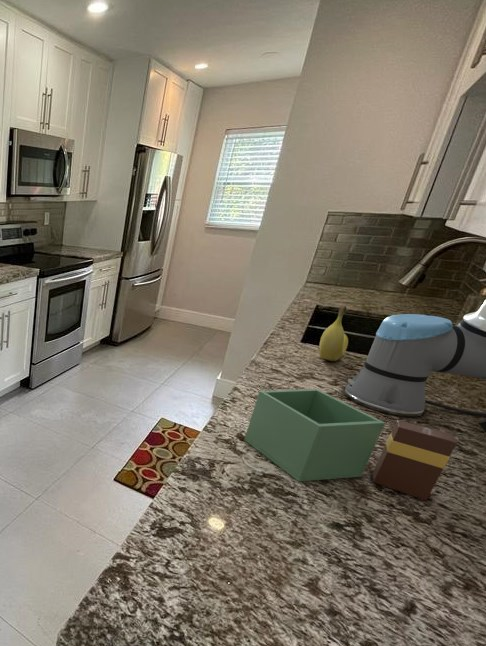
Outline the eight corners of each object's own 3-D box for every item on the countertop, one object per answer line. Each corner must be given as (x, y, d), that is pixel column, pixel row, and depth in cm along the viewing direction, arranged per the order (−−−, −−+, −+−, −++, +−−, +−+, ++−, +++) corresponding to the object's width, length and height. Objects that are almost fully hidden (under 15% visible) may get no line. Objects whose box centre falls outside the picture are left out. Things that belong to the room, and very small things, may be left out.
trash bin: (299, 436, 90) (316, 388, 86) (361, 476, 78) (385, 422, 73) (244, 439, 88) (259, 390, 84) (298, 481, 76) (319, 426, 71)
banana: (326, 350, 144) (346, 294, 137) (347, 355, 140) (369, 298, 133) (309, 364, 131) (330, 304, 124) (331, 370, 127) (355, 308, 119)
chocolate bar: (371, 473, 79) (396, 419, 74) (423, 490, 74) (453, 434, 70) (372, 482, 76) (398, 427, 72) (426, 500, 72) (457, 442, 68)
